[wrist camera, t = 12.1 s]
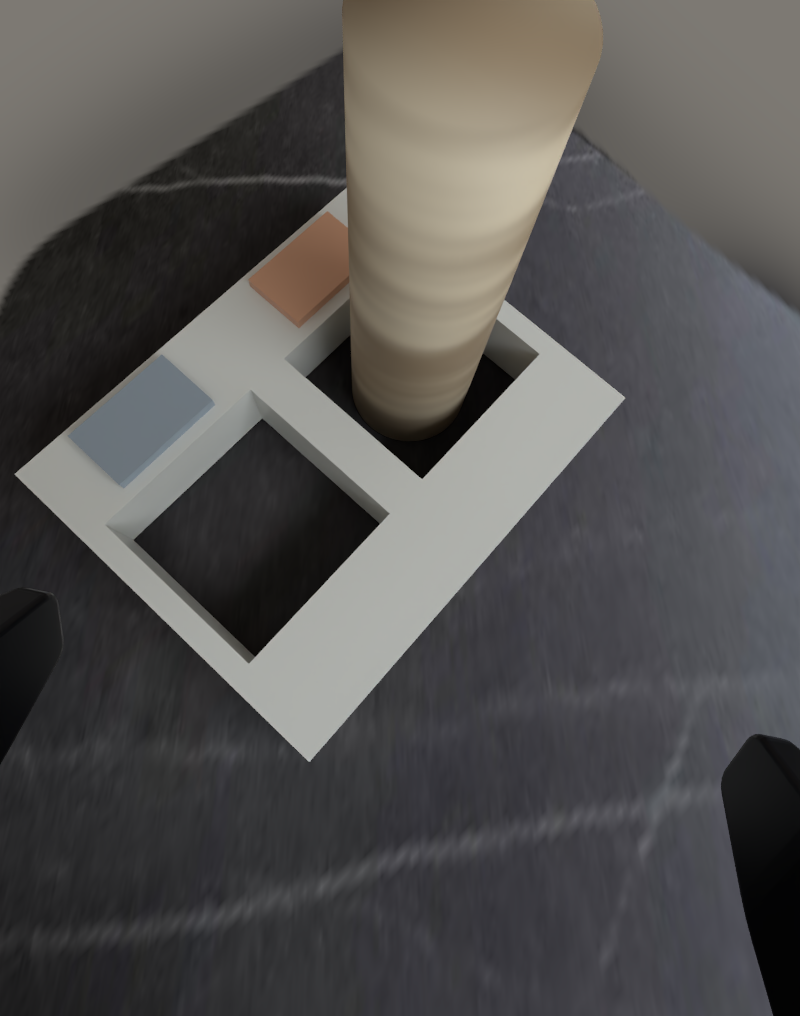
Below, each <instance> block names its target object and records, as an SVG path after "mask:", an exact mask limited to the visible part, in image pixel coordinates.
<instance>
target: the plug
mask: <svg viewBox="0 0 800 1016" xmlns="http://www.w3.org/2000/svg"><path fill="white" fill-rule="evenodd" d="M342 19H343V59H344V98H345V136H346V174H347V213H348V251H349V290H350V328H351V367H352V395H353V400H354V403H355V406H356V408H357V410H358V413H359V414H360V416H361V417H362V419H363V420H364V421H365V422H366V423H367V424H368V425H369V426H370V427H371V428H372V429H374V430H375V431H376V432H378V433H380V434H382V435H384V436H386V437H388V438H391V439H395V440H399V441H421V440H425V439H429V438H431V437H434V436H436V435H438V434H439V433H441V432H443V431H444V430H445V429H446V428H448V427H449V426H450V425H451V424H452V422H453V421H454V420H455V418H456V417H457V415H458V413H459V411H460V409H461V407H462V404H463V402H464V399H465V397H466V394H467V392H468V389H469V387H470V384H471V381H472V379H473V376H474V374H475V371H476V369H477V366H478V364H479V361H480V359H481V356H482V354H483V351H484V349H485V346H486V344H487V341H488V339H489V336H490V334H491V331H492V329H493V326H494V324H495V321H496V319H497V316H498V314H499V311H500V309H501V306H502V304H503V301H504V299H505V296H506V294H507V291H508V289H509V286H510V284H511V281H512V279H513V276H514V274H515V271H516V269H517V266H518V264H519V261H520V259H521V256H522V254H523V251H524V249H525V246H526V244H527V241H528V239H529V236H530V234H531V231H532V229H533V226H534V224H535V221H536V219H537V216H538V214H539V211H540V209H541V206H542V204H543V201H544V199H545V196H546V194H547V191H548V189H549V186H550V184H551V181H552V178H553V176H554V173H555V171H556V168H557V166H558V163H559V161H560V158H561V156H562V153H563V151H564V148H565V146H566V143H567V141H568V138H569V136H570V133H571V131H572V128H573V126H574V123H575V121H576V118H577V116H578V113H579V111H580V108H581V106H582V103H583V101H584V98H585V96H586V93H587V91H588V88H589V86H590V83H591V81H592V78H593V75H594V73H595V71H596V68H597V65H598V63H599V59H600V57H601V52H602V46H603V29H602V22H601V17H600V14H599V11H598V8H597V5H596V3H595V1H594V0H343V7H342Z"/></svg>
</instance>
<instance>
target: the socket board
mask: <svg viewBox="0 0 800 1016" xmlns="http://www.w3.org/2000/svg"><path fill="white" fill-rule="evenodd" d="M350 335H351V328H350V290H349V251H348V213H347V188H346V189H345V190H344V191H342V192H341V193H340V194H339V195H338V196H337V197H335V198H334V199H333V200H332V201H331V202H330V203H328V204H327V205H326V206H325V207H324V208H323V209H322V210H320V211H319V212H318V213H317V214H316V215H315V216H313V217H312V218H311V219H310V220H309V221H308V222H306V223H305V224H304V225H303V226H302V227H301V228H299V229H298V230H297V231H296V232H295V233H294V234H293V235H291V236H290V237H289V238H288V239H287V240H286V241H284V242H283V243H282V244H281V245H280V246H279V247H277V248H276V249H275V250H274V251H273V252H272V253H270V254H269V255H268V256H267V257H266V258H265V259H263V260H262V261H261V262H260V263H259V264H258V265H257V266H255V267H254V268H253V269H252V270H251V271H250V272H248V273H247V274H246V275H245V276H244V277H243V278H241V279H240V280H239V281H238V282H237V283H236V284H234V285H233V286H232V287H231V288H230V289H229V290H228V291H226V292H225V293H224V294H223V295H222V296H221V297H219V298H218V299H217V300H216V301H215V302H214V303H212V304H211V305H210V306H209V307H208V308H207V309H205V310H204V311H203V312H202V313H201V314H200V315H199V316H197V317H196V318H195V319H194V320H193V321H192V322H190V323H189V324H188V325H187V326H186V327H185V328H183V329H182V330H181V331H180V332H179V333H178V334H176V335H175V336H174V337H173V338H172V339H171V340H170V341H168V342H167V343H166V344H165V345H164V346H163V347H161V348H160V349H159V350H158V351H157V352H156V353H154V354H153V355H152V356H151V357H150V358H149V359H147V360H146V361H145V362H144V363H143V364H142V365H141V366H139V367H138V368H137V369H136V370H135V371H134V372H132V373H131V374H130V375H129V376H128V377H127V378H125V379H124V380H123V381H122V382H121V383H120V384H118V385H117V386H116V387H115V388H114V389H113V390H112V391H110V392H109V393H108V394H107V395H106V396H105V397H103V398H102V399H101V400H100V401H99V402H98V403H96V404H95V405H94V406H93V407H92V408H91V409H89V410H88V411H87V412H86V413H85V414H84V415H83V416H81V417H80V418H79V419H78V420H77V421H76V422H74V423H73V424H72V425H71V426H70V427H69V428H67V429H66V430H65V431H64V432H63V433H62V434H60V435H59V436H58V437H57V438H56V439H55V440H54V441H52V442H51V443H50V444H49V445H48V446H47V447H45V448H44V449H43V450H42V451H41V452H40V453H38V454H37V455H36V456H35V457H34V458H33V459H31V460H30V461H29V462H28V463H27V464H26V465H25V466H23V467H22V468H21V469H20V470H19V471H18V472H16V473H15V475H16V476H17V477H18V478H19V479H20V480H21V481H22V482H23V483H24V484H25V485H26V486H27V487H28V488H29V489H30V490H31V491H32V492H33V493H34V494H35V495H36V496H37V497H38V498H39V499H40V500H41V501H42V502H43V503H44V504H45V505H46V506H48V507H49V508H50V509H51V510H52V511H53V512H54V513H55V514H56V515H57V516H58V517H59V518H60V519H61V520H62V521H63V522H64V523H65V524H66V525H67V526H68V527H69V528H70V529H71V530H72V531H73V532H74V533H75V534H76V535H77V536H78V537H79V538H80V539H81V540H82V541H83V542H84V543H85V544H86V545H87V546H88V547H89V548H90V549H92V550H93V551H94V552H95V553H96V554H97V555H98V556H99V557H100V558H101V559H102V560H103V561H104V562H105V563H106V564H107V565H108V566H109V567H110V568H111V569H112V570H113V571H114V572H115V573H116V574H117V575H118V576H119V577H120V578H121V579H122V580H123V581H124V582H125V583H126V584H127V585H128V586H129V587H130V588H131V589H132V590H133V591H135V592H136V593H137V594H138V595H139V596H140V597H141V598H142V599H143V600H144V601H145V602H146V603H147V604H148V605H149V606H150V607H151V608H152V609H153V610H154V611H155V612H156V613H157V614H158V615H159V616H160V617H161V618H162V619H163V620H164V621H165V622H166V623H167V624H168V625H169V626H170V627H171V628H172V629H173V630H174V631H175V632H176V633H178V634H179V635H180V636H181V637H182V638H183V639H184V640H185V641H186V642H187V643H188V644H189V645H190V646H191V647H192V648H193V649H194V650H195V651H196V652H197V653H198V654H199V655H200V656H201V657H202V658H203V659H204V660H205V661H206V662H207V663H208V664H209V665H210V666H211V667H212V668H213V669H214V670H215V671H216V672H217V673H218V674H219V675H221V676H222V677H223V678H224V679H225V680H226V681H227V682H228V683H229V684H230V685H231V686H232V687H233V688H234V689H235V690H236V691H237V692H238V693H239V694H240V695H241V696H242V697H243V698H244V699H245V700H246V701H247V702H248V703H249V704H250V705H251V706H252V707H253V708H254V709H255V710H256V711H257V712H258V713H259V714H260V715H261V716H262V717H264V718H265V719H266V720H267V721H268V722H269V723H270V724H271V725H272V726H273V727H274V728H275V729H276V730H277V731H278V732H279V733H280V734H281V735H282V736H283V737H284V738H285V739H286V740H287V741H288V742H289V743H290V744H291V745H292V746H293V747H294V748H295V749H296V750H297V751H298V752H299V753H300V754H301V755H302V756H303V757H304V758H305V759H307V760H308V761H309V762H310V761H311V759H312V758H313V757H314V756H315V755H316V754H317V753H318V751H319V750H320V749H321V748H322V747H323V746H324V745H325V743H326V742H327V741H328V740H329V739H330V738H331V736H332V735H333V734H334V733H335V732H336V731H337V730H338V728H339V727H340V726H341V725H342V724H343V723H344V721H345V720H346V719H347V718H348V717H349V716H350V715H351V713H352V712H353V711H354V710H355V709H356V708H357V706H358V705H359V704H360V703H361V702H362V701H363V700H364V698H365V697H366V696H367V695H368V694H369V693H370V692H371V690H372V689H373V688H374V687H375V686H376V685H377V683H378V682H379V681H380V680H381V679H382V678H383V677H384V675H385V674H386V673H387V672H388V671H389V670H390V668H391V667H392V666H393V665H394V664H395V663H396V662H397V660H398V659H399V658H400V657H401V656H402V655H403V653H404V652H405V651H406V650H407V649H408V648H409V647H410V645H411V644H412V643H413V642H414V641H415V640H416V639H417V637H418V636H419V635H420V634H421V633H422V632H423V630H424V629H425V628H426V627H427V626H428V625H429V624H430V622H431V621H432V620H433V619H434V618H435V617H436V615H437V614H438V613H439V612H440V611H441V610H442V609H443V607H444V606H445V605H446V604H447V603H448V602H449V600H450V599H451V598H452V597H453V596H454V595H455V594H456V592H457V591H458V590H459V589H460V588H461V587H462V586H463V584H464V583H465V582H466V581H467V580H468V579H469V577H470V576H471V575H472V574H473V573H474V572H475V571H476V569H477V568H478V567H479V566H480V565H481V564H482V562H483V561H484V560H485V559H486V558H487V557H488V556H489V554H490V553H491V552H492V551H493V550H494V549H495V547H496V546H497V545H498V544H499V543H500V542H501V541H502V539H503V538H504V537H505V536H506V535H507V534H508V533H509V531H510V530H511V529H512V528H513V527H514V526H515V524H516V523H517V522H518V521H519V520H520V519H521V518H522V516H523V515H524V514H525V513H526V512H527V511H528V509H529V508H530V507H531V506H532V505H533V504H534V503H535V501H536V500H537V499H538V498H539V497H540V496H541V494H542V493H543V492H544V491H545V490H546V489H547V488H548V486H549V485H550V484H551V483H552V482H553V481H554V480H555V478H556V477H557V476H558V475H559V474H560V473H561V471H562V470H563V469H564V468H565V467H566V466H567V465H568V463H569V462H570V461H571V460H572V459H573V458H574V456H575V455H576V454H577V453H578V452H579V451H580V450H581V448H582V447H583V446H584V445H585V444H586V443H587V441H588V440H589V439H590V438H591V437H592V436H593V435H594V433H595V432H596V431H597V430H598V429H599V428H600V427H601V425H602V424H603V423H604V422H605V421H606V420H607V418H608V417H609V416H610V415H611V414H612V413H613V412H614V410H615V409H616V408H617V407H618V406H619V405H620V403H621V402H622V401H623V400H624V399H625V397H624V396H623V395H621V394H620V393H619V392H618V391H616V390H615V389H614V388H613V387H611V386H610V385H609V384H608V383H606V382H605V381H604V380H603V379H601V378H600V377H599V376H598V375H597V374H595V373H594V372H593V371H592V370H590V369H589V368H588V367H587V366H585V365H584V364H583V363H582V362H580V361H579V360H578V359H577V358H576V357H574V356H573V355H572V354H571V353H569V352H568V351H567V350H566V349H564V348H563V347H562V346H561V345H559V344H558V343H557V342H556V341H554V340H553V339H552V338H551V337H550V336H548V335H547V334H546V333H545V332H543V331H542V330H541V329H540V328H538V327H537V326H536V325H535V324H533V323H532V322H531V321H530V320H528V319H527V318H526V317H525V316H524V315H522V314H521V313H520V312H519V311H517V310H516V309H515V308H514V307H512V306H511V305H510V304H509V303H507V302H506V301H505V300H504V301H503V304H502V306H501V309H500V311H499V314H498V316H497V319H496V321H495V324H494V326H493V329H492V331H491V334H490V336H489V339H488V341H487V344H486V346H485V349H484V351H483V354H485V355H486V356H487V357H488V358H489V359H491V360H492V361H493V362H494V363H495V364H497V365H498V366H499V367H500V368H501V369H503V370H504V371H505V372H506V373H508V374H509V375H510V376H511V377H512V378H514V379H515V381H514V382H513V383H512V384H511V385H510V386H509V387H508V388H507V389H506V391H505V392H504V393H503V394H502V395H501V396H500V397H499V398H498V399H497V400H496V401H495V402H494V403H493V404H492V405H491V407H490V408H489V409H488V410H487V411H486V412H485V413H484V414H483V415H482V416H481V417H480V418H479V419H478V420H477V421H476V422H475V424H474V425H473V426H472V427H471V428H470V429H469V430H468V431H467V432H466V433H465V434H464V435H463V436H462V437H461V438H460V440H459V441H458V442H457V443H456V444H455V445H454V446H453V447H452V448H451V449H450V450H449V451H448V452H447V453H446V454H445V455H444V457H443V458H442V459H441V460H440V461H439V462H438V463H437V464H436V465H435V466H434V467H433V468H432V469H431V470H430V471H429V473H428V474H427V475H426V476H425V477H424V478H423V479H421V478H420V477H419V476H418V475H416V474H415V473H414V472H413V471H412V470H411V469H410V468H408V467H407V466H406V465H405V464H404V463H403V462H402V461H400V460H399V459H398V458H397V457H396V456H395V455H394V454H392V453H391V452H390V451H389V450H388V449H387V448H385V447H384V446H383V445H382V444H381V443H380V442H379V441H377V440H376V439H375V438H374V437H373V436H372V435H371V434H369V433H368V432H367V431H366V430H365V429H364V428H363V427H361V426H360V425H359V424H358V423H357V422H356V421H355V420H353V419H352V418H351V417H350V416H349V415H348V414H347V413H345V412H344V411H343V410H342V409H341V408H340V407H339V406H337V405H336V404H335V403H334V402H333V401H332V400H331V399H329V398H328V397H327V396H326V395H325V394H324V393H322V392H321V391H320V390H319V389H318V388H317V387H316V386H314V385H313V384H312V383H311V382H310V381H309V380H308V379H306V378H305V377H306V376H307V375H309V374H310V373H311V372H312V371H313V370H314V369H315V368H316V367H317V366H318V365H319V364H320V363H321V362H322V361H323V360H324V359H325V358H327V357H328V356H329V355H330V354H331V353H332V352H333V351H334V350H335V349H336V348H337V347H338V346H339V345H340V344H341V343H342V342H343V341H345V340H346V339H347V338H348V337H349V336H350ZM261 419H263V420H265V421H266V422H267V423H268V424H269V425H270V426H271V427H272V428H274V429H275V430H276V431H277V432H278V433H279V434H280V435H281V436H282V437H284V438H285V439H286V440H287V441H288V442H289V443H290V444H291V445H293V446H294V447H295V448H296V449H297V450H298V451H299V452H300V453H301V454H303V455H304V456H305V457H306V458H307V459H308V460H309V461H310V462H312V463H313V464H314V465H315V466H316V467H317V468H318V469H319V470H320V471H322V472H323V473H324V474H325V475H326V476H327V477H328V478H329V479H331V480H332V481H333V482H334V483H335V484H336V485H337V486H338V487H339V488H341V489H342V490H343V491H344V492H345V493H346V494H347V495H348V496H350V497H351V498H352V499H353V500H354V501H355V502H356V503H357V504H358V505H360V506H361V507H362V508H363V509H364V510H365V511H366V512H367V513H369V514H370V515H371V516H372V517H373V518H374V519H375V520H376V521H377V522H379V523H380V525H379V526H378V527H377V528H376V529H375V530H374V531H373V532H372V533H371V534H370V535H369V536H368V538H367V539H366V540H365V541H364V542H363V543H362V544H361V545H360V546H359V547H358V548H357V549H356V550H355V551H354V552H353V553H352V555H351V556H350V557H349V558H348V559H347V560H346V561H345V562H344V563H343V564H342V565H341V566H340V567H339V568H338V569H337V571H336V572H335V573H334V574H333V575H332V576H331V577H330V578H329V579H328V580H327V581H326V582H325V583H324V584H323V585H322V587H321V588H320V589H319V590H318V591H317V592H316V593H315V594H314V595H313V596H312V597H311V598H310V599H309V600H308V601H307V602H306V604H305V605H304V606H303V607H302V608H301V609H300V610H299V611H298V612H297V613H296V614H295V615H294V616H293V617H292V618H291V620H290V621H289V622H288V623H287V624H286V625H285V626H284V627H283V628H282V629H281V630H280V631H279V632H278V633H277V634H276V636H275V637H274V638H273V639H272V640H271V641H270V642H269V643H268V644H267V645H266V646H265V647H264V648H263V649H262V650H261V651H260V653H259V654H258V655H257V656H256V657H254V656H253V655H252V654H251V653H250V652H249V651H248V650H247V649H246V648H245V647H244V646H243V645H242V644H241V643H240V642H239V641H238V640H237V639H236V638H235V637H234V636H233V635H232V634H231V633H230V632H229V631H227V630H226V629H225V628H224V627H223V626H222V625H221V624H220V623H219V622H218V621H217V620H216V619H215V618H214V617H213V616H212V615H211V614H210V613H209V612H208V611H207V610H206V609H205V608H204V607H203V606H201V605H200V604H199V603H198V602H197V601H196V600H195V599H194V598H193V597H192V596H191V595H190V594H189V593H188V592H187V591H186V590H185V589H184V588H183V587H182V586H181V585H180V584H179V583H178V582H177V581H176V580H174V579H173V578H172V577H171V576H170V575H169V574H168V573H167V572H166V571H165V570H164V569H163V568H162V567H161V566H160V565H159V564H158V563H157V562H156V561H155V560H154V559H153V558H152V557H151V556H150V555H149V554H147V553H146V552H145V551H144V550H143V549H142V548H141V547H140V546H139V545H138V544H137V543H136V542H135V541H134V539H135V538H136V537H137V536H138V535H139V534H140V533H141V532H142V531H143V530H144V529H145V528H147V527H148V526H149V525H150V524H151V523H152V522H153V521H154V520H155V519H156V518H157V517H158V516H159V515H160V514H161V513H162V512H163V511H165V510H166V509H167V508H168V507H169V506H170V505H171V504H172V503H173V502H174V501H175V500H176V499H177V498H178V497H179V496H180V495H181V494H183V493H184V492H185V491H186V490H187V489H188V488H189V487H190V486H191V485H192V484H193V483H194V482H195V481H196V480H197V479H198V478H199V477H201V476H202V475H203V474H204V473H205V472H206V471H207V470H208V469H209V468H210V467H211V466H212V465H213V464H214V463H215V462H216V461H217V460H219V459H220V458H221V457H222V456H223V455H224V454H225V453H226V452H227V451H228V450H229V449H230V448H231V447H232V446H233V445H234V444H235V443H237V442H238V441H239V440H240V439H241V438H242V437H243V436H244V435H245V434H246V433H247V432H248V431H249V430H250V429H251V428H252V427H253V426H255V425H256V424H257V423H258V422H259V421H260V420H261Z"/></svg>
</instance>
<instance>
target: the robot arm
mask: <svg viewBox="0 0 800 1016" xmlns="http://www.w3.org/2000/svg"><path fill="white" fill-rule="evenodd" d="M62 648H63V634H62V627H61V620H60V613H59V605H58V601H57V598H56V597H55V596H54V594H52V593H50V592H45V591H40V590H35V589H30V588H17V589H14V590H11V591H9V592H7V593H4V594H2V595H0V764H1V762H2V761H3V759H4V757H5V756H6V754H7V752H8V750H9V749H10V747H11V745H12V743H13V741H14V740H15V738H16V736H17V734H18V732H19V730H20V729H21V727H22V725H23V723H24V721H25V720H26V718H27V716H28V714H29V712H30V711H31V709H32V707H33V705H34V703H35V702H36V700H37V698H38V696H39V694H40V693H41V691H42V689H43V687H44V685H45V684H46V682H47V680H48V678H49V676H50V675H51V673H52V671H53V669H54V667H55V666H56V664H57V662H58V660H59V658H60V655H61V653H62ZM721 791H722V797H723V803H724V808H725V813H726V819H727V824H728V829H729V835H730V840H731V845H732V851H733V856H734V861H735V867H736V872H737V878H738V883H739V888H740V894H741V898H742V903H743V907H744V912H745V917H746V920H747V924H748V928H749V932H750V936H751V940H752V943H753V947H754V950H755V953H756V957H757V960H758V964H759V967H760V971H761V974H762V978H763V981H764V985H765V988H766V992H767V995H768V999H769V1002H770V1006H771V1009H772V1013H773V1016H800V749H799V748H797V747H796V746H795V745H794V744H793V743H791V742H790V741H788V740H785V739H782V738H777V737H772V736H767V735H762V734H755V735H753V736H751V737H749V738H748V739H747V740H746V742H745V743H744V745H743V746H742V747H741V749H740V750H739V752H738V753H737V754H736V756H735V757H734V758H733V760H732V761H731V763H730V764H729V765H728V767H727V768H726V770H725V771H724V774H723V777H722V782H721Z"/></svg>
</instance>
